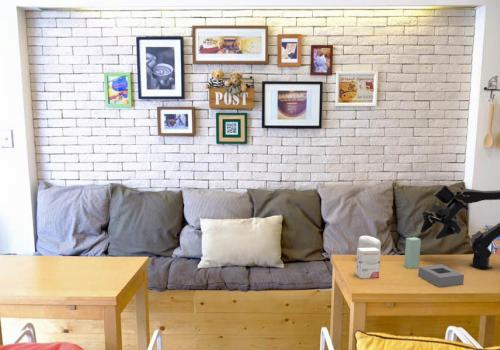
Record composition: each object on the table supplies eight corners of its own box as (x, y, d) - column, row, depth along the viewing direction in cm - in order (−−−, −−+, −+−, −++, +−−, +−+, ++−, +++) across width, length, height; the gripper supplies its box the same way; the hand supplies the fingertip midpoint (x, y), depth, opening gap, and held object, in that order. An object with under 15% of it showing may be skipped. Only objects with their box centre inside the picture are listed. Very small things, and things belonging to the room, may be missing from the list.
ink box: (374, 273, 175) (376, 246, 173) (379, 277, 170) (381, 250, 168) (355, 274, 173) (356, 247, 172) (359, 278, 169) (361, 251, 167)
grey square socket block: (441, 273, 176) (441, 264, 176) (463, 284, 165) (464, 274, 164) (418, 275, 173) (418, 266, 172) (439, 287, 161) (439, 277, 161)
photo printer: (380, 264, 186) (382, 238, 184) (376, 266, 183) (378, 239, 181) (360, 258, 193) (362, 233, 191) (355, 260, 190) (357, 235, 188)
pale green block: (413, 264, 186) (415, 237, 184) (418, 267, 183) (420, 239, 181) (404, 265, 184) (406, 238, 183) (409, 268, 181) (411, 240, 179)
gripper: (427, 194, 191) (405, 217, 189) (459, 203, 173) (435, 229, 171) (438, 210, 195) (417, 233, 193) (471, 221, 177) (447, 246, 175)
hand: (428, 235), depth 183 cm, fingers open, 9 cm apart
